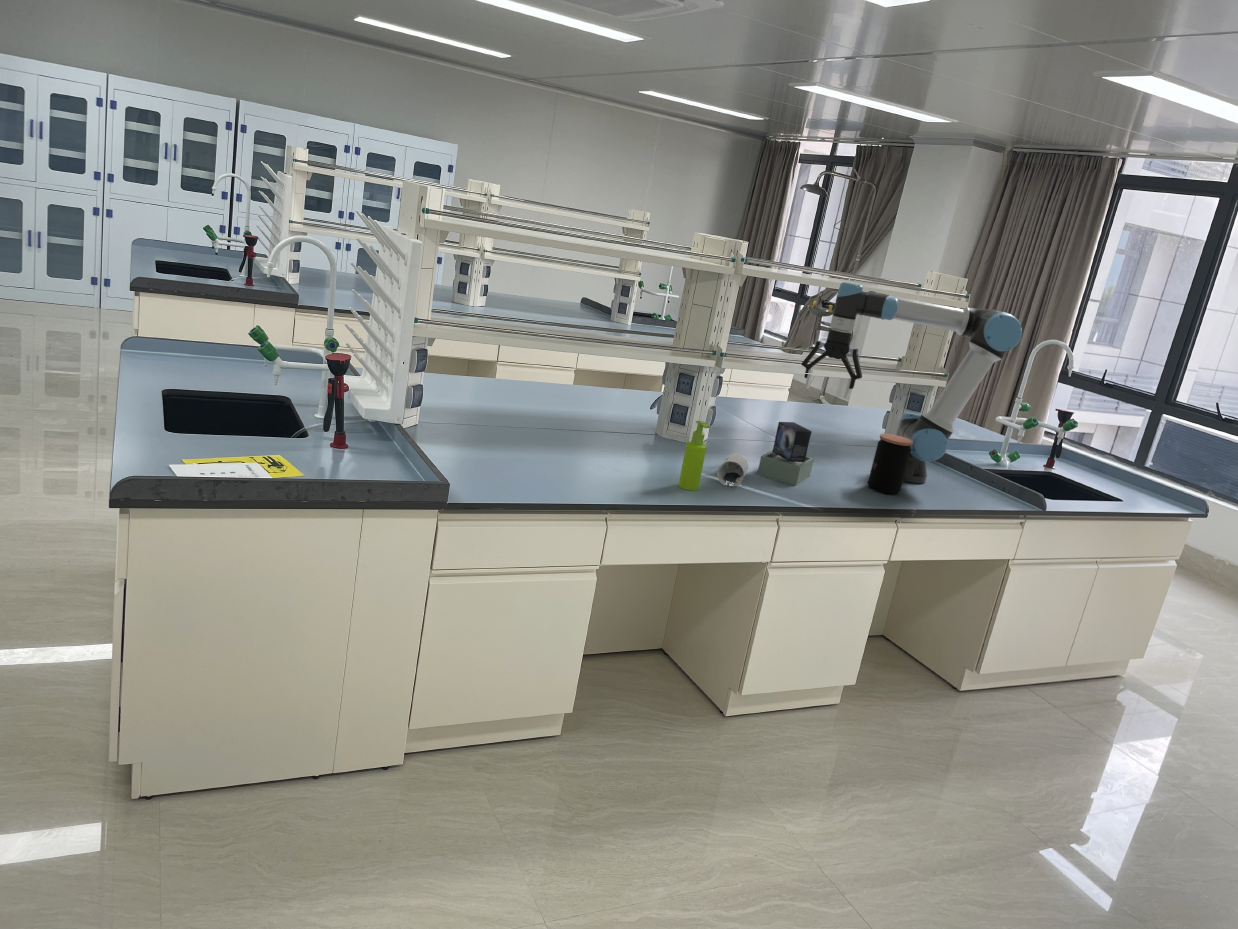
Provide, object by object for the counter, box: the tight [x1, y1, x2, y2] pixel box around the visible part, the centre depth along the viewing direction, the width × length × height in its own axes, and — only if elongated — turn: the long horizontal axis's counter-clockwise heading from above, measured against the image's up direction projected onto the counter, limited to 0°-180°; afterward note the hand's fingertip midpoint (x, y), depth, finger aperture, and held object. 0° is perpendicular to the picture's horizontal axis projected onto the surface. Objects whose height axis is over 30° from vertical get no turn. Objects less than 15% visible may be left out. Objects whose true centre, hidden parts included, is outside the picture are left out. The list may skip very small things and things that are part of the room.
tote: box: [756, 449, 815, 487], centre depth 283 cm, size 13×16×7 cm
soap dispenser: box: [678, 420, 711, 491], centre depth 253 cm, size 6×7×20 cm
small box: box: [771, 421, 812, 462], centre depth 281 cm, size 11×6×10 cm, turn 23°
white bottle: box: [716, 452, 749, 487], centre depth 271 cm, size 8×19×8 cm, turn 165°
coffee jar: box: [867, 433, 913, 496], centre depth 287 cm, size 11×11×18 cm
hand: (826, 393), depth 294 cm, fingers open, 13 cm apart
